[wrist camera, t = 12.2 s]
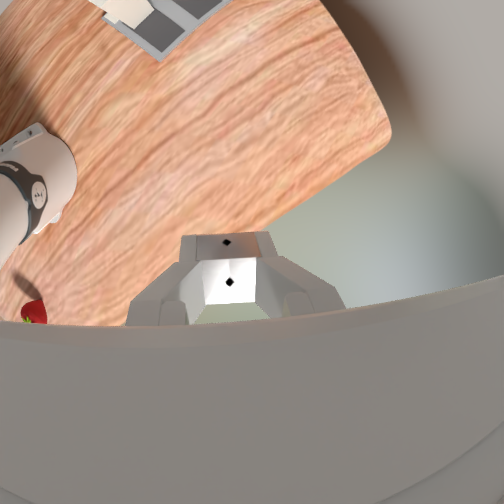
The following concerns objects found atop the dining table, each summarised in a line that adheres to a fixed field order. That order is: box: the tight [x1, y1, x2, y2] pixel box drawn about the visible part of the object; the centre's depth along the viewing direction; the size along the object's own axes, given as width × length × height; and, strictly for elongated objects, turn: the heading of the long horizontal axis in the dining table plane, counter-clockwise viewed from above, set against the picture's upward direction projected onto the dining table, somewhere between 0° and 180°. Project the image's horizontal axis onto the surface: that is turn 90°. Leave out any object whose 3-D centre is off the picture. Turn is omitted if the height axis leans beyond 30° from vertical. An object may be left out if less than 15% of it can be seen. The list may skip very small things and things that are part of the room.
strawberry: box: [21, 300, 47, 324], centre depth 47 cm, size 6×8×10 cm
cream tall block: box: [88, 0, 154, 29], centre depth 19 cm, size 2×4×14 cm, turn 133°
